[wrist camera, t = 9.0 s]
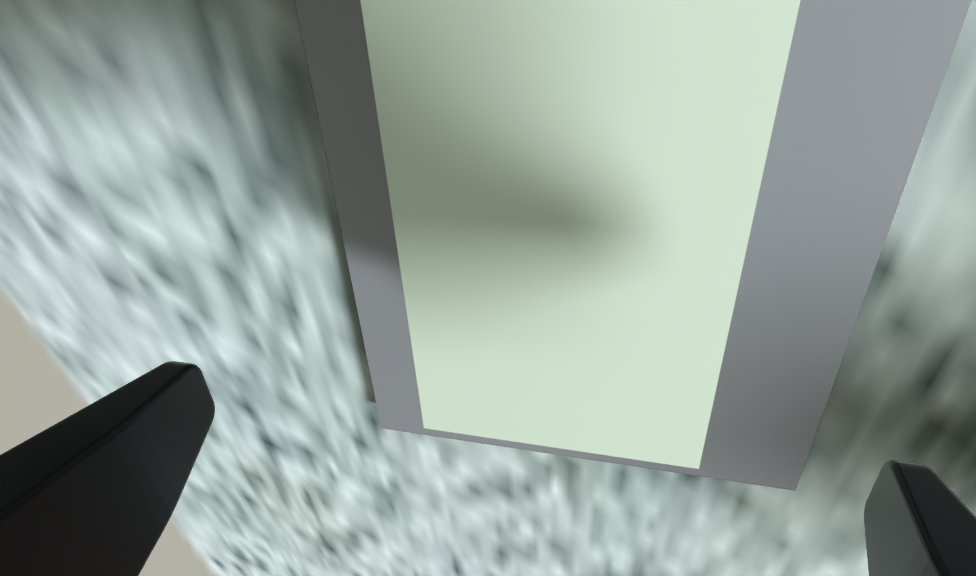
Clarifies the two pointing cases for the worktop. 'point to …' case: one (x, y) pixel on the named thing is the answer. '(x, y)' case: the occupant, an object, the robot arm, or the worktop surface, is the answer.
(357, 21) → the cleat board
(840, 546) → the worktop surface
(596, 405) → the cabinet block
